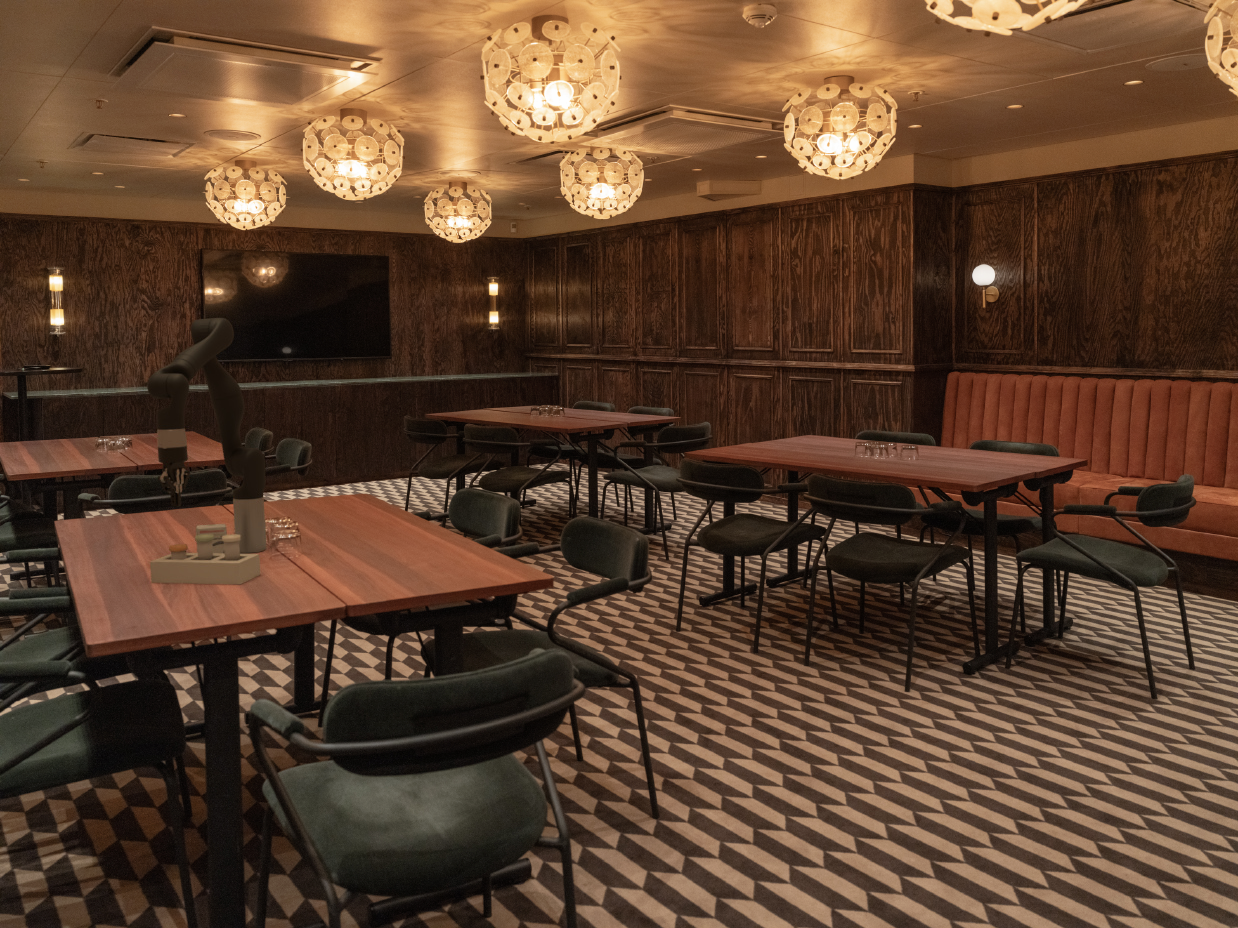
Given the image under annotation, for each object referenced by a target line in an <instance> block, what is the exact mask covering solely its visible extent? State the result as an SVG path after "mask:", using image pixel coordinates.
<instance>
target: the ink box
mask: <svg viewBox="0 0 1238 928" xmlns="http://www.w3.org/2000/svg"><path fill="white" fill-rule="evenodd" d="M227 531H228V530H227V524H226V523H218V524H217V523H216V524H215V523H214V524H200V525H199V524H198V525H197V526H195V536H196V535H201V534H213V536H214V539H213V540H212V545H213V553H224V542H223V541H222V536H224V535H228V533H227ZM195 542H196V543H197V541H195ZM196 553H198V551H197V550H196Z"/></svg>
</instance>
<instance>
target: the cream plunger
mask: <svg viewBox="0 0 1238 928" xmlns="http://www.w3.org/2000/svg"><path fill="white" fill-rule="evenodd" d="M239 540H241V539H240V535H238V534H235V533H232V534H227V535H224V536H222V541H223V542H224V554H225V561H238V560H240V554H241V553H240V549H239Z"/></svg>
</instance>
